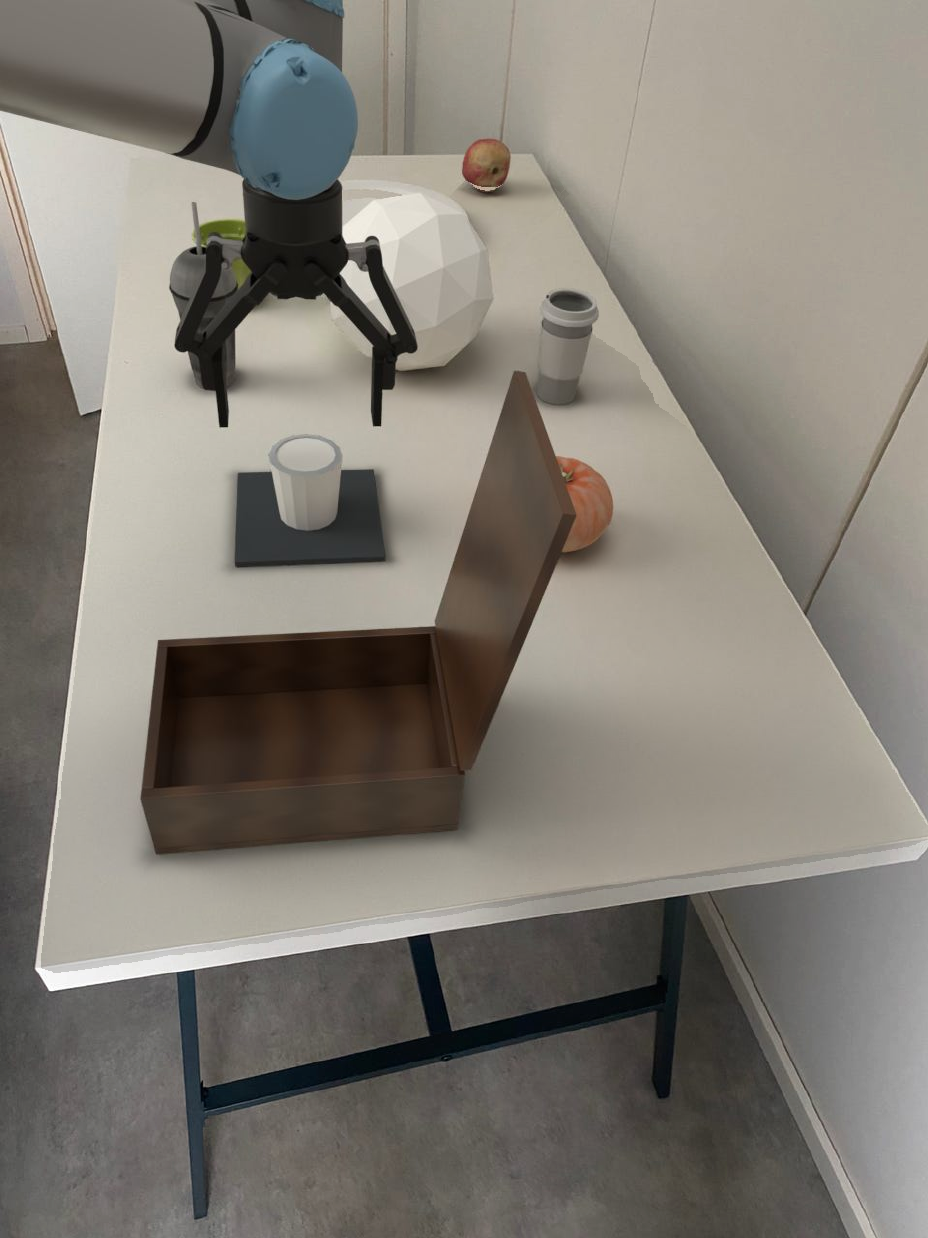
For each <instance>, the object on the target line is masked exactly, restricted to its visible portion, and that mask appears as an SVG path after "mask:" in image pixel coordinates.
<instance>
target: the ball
mask: <svg viewBox="0 0 928 1238" xmlns="http://www.w3.org/2000/svg"><path fill="white" fill-rule="evenodd" d="M468 219H469V218H468ZM468 219H467V218H466V216H465V215H464V214H463V213H461V212H459V211H457V210H455V209H453V208H451V207H449V206H447V205H445V204H443V203H441V202H439V201H437V200H434V199H432V198H430V197H428V196H426V195H424V194H422V193H415V194H408V195H402V196H395V197H389V198H383V199H376V200H373V201H372V202H371V203H370V204H368V205H367V206H366V207H365V208H364V209H363V210H361V211H360V212H359V213H358V214H357V215H356V216H355V217H353V218H352V219H351V220H350V221H349V222H348V223H346V224H345V225H344V226H343V227H342V235H343V238H344V240H345V242H346V244H348V243H359V242H365V240H366V238H367V237H368V236H375V237H377V238H378V239H379V243H380V248H381V253H382V263H383V267H384V269H385V271H386V273H387V275H388V277H389V280H390V282H391V284H392V286H393V288H394V290H395V292H396V294H397V296H398V298H399V300H400V302H401V305H402V307H403V309H404V311H405V313H406V315H407V317H408V319H409V321H410V323H411V325H412V327H413V329H414V332H415V336H416V341H417V346H418V348H417V351H416V352H414V353H412V354H410V353H407V352H406V353H403V354H400V355H399V356H398V357H397V358H398V359H397V362H396V369H395V370H397V371H399V372H405V371H413V370H414V371H415V370H421V369H430V368H437V367H439V368H440V367H445V366H446V365H447V364H448V363H450V361H451V360H452V359H454V358H455V356H458V354H459V353H460V352H461V351H462V350H464V348H466V346H468V344H469V343H471V341H473V340H474V339H475V338H476V337H477V334H478V332H479V330H480V329H481V326H482V324H483V322H484V320H485V318H486V316H487V314H488V312H489V310H490V307H491V305H492V304H493V301H494V299H495V297H494V290H493V282H492V274H491V265H490V259H489V251H488V248H487V247H486V245H485V244H484V242H483V241H482V239H481V237H480V236H479V234H478V232H477V231H476V230H475V228H474V227H473V225H472V224H471V223H470V220H469V221H468ZM340 274H341V276H342V277H343V278H344V279H345V281H346V283H347V285H348V286H349V287H350V288H351V289H352V290H353V292H354V293H355V294H356V295H357V296H358V297H359V298H360V300H361V301H362V302H363V303H364V304H365V305H366V306H367V308H368V309H369V310H370V311H371V312H372V313H373V314H374V316H375V317H376V318H377V319H378V320H379V321H380V322H381V324H382V325H383V326H384V327H385V328H386V329H387V330H388V332H389V333H390V334H391V335H394V334H396V332H395V330H394V328H393V326H392V324H391V322H390V320H389V318H388V316H387V314H386V312H385V310H384V308H383V306H382V304H381V302H380V300H379V298H378V296H377V294H376V292H375V290H374V288H373V286H372V283H371V281H370V277H369V273H368V272H363V271H361V270H360V269H359V268H358V266H357V264H356V262H354V261H352V260H348V262H347V264H346V266H345V267H344V268H343V270H342V271H341V272H340ZM329 303H330V312H331V313H330V314H331V320H332V322H333V323H334V324H335V326H336V327H337V328H338V329H339V330H340V331H341V332H342V334H343V335H344V336H345V337H346V338H347V340H348V341H350V343H351V344H352V345H353V346H354V347H355V348H356V350H357V351H359V352H360V353H361V354H362V355H364V356H366V357H367V358H370V359H372V347H374V346H373V345H372V344H371V343H370V342H369V341H368V339H367V338H366V337H365V336H364V335H363V334H362V333H361V332H360V331H359V329H358V328H357V327H356V326H355V325H354V324H353V323H352V322H351V321H350V319H349V318H348V317H347V316H346V315H345V314H344V313H343V312H342V311H341V309H340V308H339V307H337V306H335V305H334V304H333V303H332V302H331V301H330V300H329Z"/></svg>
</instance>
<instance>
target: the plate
mask: <svg viewBox="0 0 928 1238" xmlns="http://www.w3.org/2000/svg"><path fill="white" fill-rule="evenodd" d="M339 182H340V183H341V184H342V190H349V189H354V190H355V189H358V190H359V189H360V190H362V189H370V190H374V189H376V190H382V191H388V192H394V193H398V194H402V195H408V194H415V193H422V194H424V195H426V196H428V197H430V198H432V199H434V200H437V201H439V202H441V203H443V204H445V205H447V206H449V207H451V208H453V209H455V210H457V211H459V212H461V213H463V214H464V215H465V216H466V218H467V219H468V221H469V222H470V219H469V217H468V213H467V212H466V211H465V209H464V207H462V206H461V205H460V204H459V203H458V202H456V201H455V200H453V199H452V198H450V197H448V196H447V195H444V194H442V193H440V192H438V191H435V190H432V189H430V188H426V187H422V186H419V185H416V184H411V183H406V182H401V181H393V180H392V181H391V180H385V179H384V180H383V179H362V178H361V179H345V180H339ZM351 200H352V201H351ZM351 200H346V201H344V200H343V201H342V227H343V226H344V225H345V224H346V223H348V222H349V221H350V220H351V219H352V218H353V217H355V216H356V215H357V214H358V213H359V212H360V211H361V210H363V209H364V208H365V207H366V206H367V205H368V204H370V203H371V202H372V201H373V200H376V199H375V198H362V199H351Z"/></svg>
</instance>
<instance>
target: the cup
mask: <svg viewBox="0 0 928 1238" xmlns="http://www.w3.org/2000/svg"><path fill="white" fill-rule="evenodd" d="M597 306H598V302H597V299H596V298H595V296H593V295H592V294H590V293H588V292H586V291H584V290H581V289H577V288H570V287H561V288H555V289H552V290H550V291H549V292H547V293H546V294H545V297H544V299H543V300H542V302H541V304H540V306H539V313H540V314H541V316H542V320H541V324H540V335H539V347H538V348H539V349H538V360H537V361H538V362H537V369H538V373H537V385H536V395H537V397H538V398H539V399H540V400H542V401H543V402H546V403H548V404H551V405H557V406H562V405H567V404H570V403H572V402H573V401H574V400H575V398H576V395H577V390H578V386H579V383H580V377H581V375H582V373H583V370H584V366H585V363H586V357H587V353H588V349H589V345H590V341H591V338H592V333H593V324H595V323H596V322H597V321H598V320H599V317H600V311H599V308H598V307H597Z"/></svg>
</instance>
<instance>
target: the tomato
mask: <svg viewBox="0 0 928 1238" xmlns="http://www.w3.org/2000/svg"><path fill="white" fill-rule="evenodd" d="M555 456H556V458H557V461H558V464H559V467H560V470H561V472H562V475H563V478H564V481H565V483H566V486H567V489H568V492H569V495H570V497H571V500H572V503H573V506H574V509H575V511H576V514H577V516H576V519H575V521H574V523H573V526H572V528H571V531H570V533H569V535H568V538H567V540H566V543H565V545H564V548H563V550H562V552H561V553H569V552H574V551H579V550H581V549H584V548H586V547H588V546H590V545H592V544H593V543H595V542H596V541H597V540H599V539H600V538H601V536H602V535H604V533H605V531H606V530H607V528H608V527H609V525H610V524H611V521H612V518H613V515H614V500H613V495H612V492H611V489H610V487H609V485H608V482H607V480H606V479H605V477H603V475H602V474H601V473H600V472H598V471H597V470H595V469H594V468H593V467H592V466H591V465H589V464H588V463H586V462H584V461H581V460H579V459H577V458H573V457H564V456H558V455H555Z"/></svg>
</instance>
